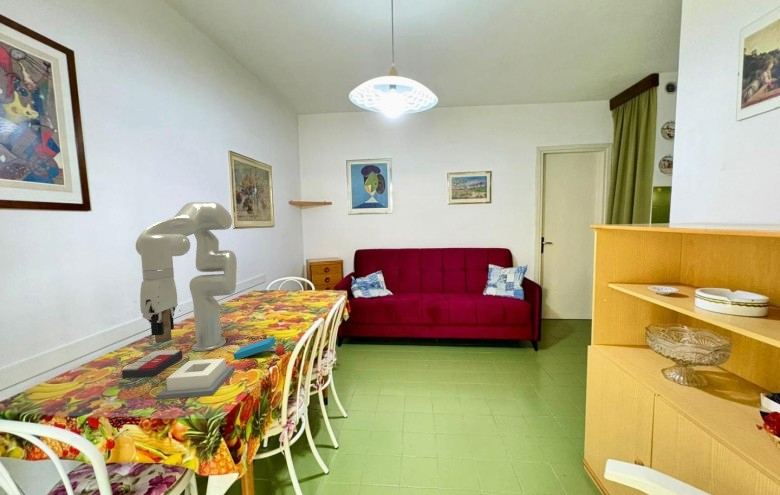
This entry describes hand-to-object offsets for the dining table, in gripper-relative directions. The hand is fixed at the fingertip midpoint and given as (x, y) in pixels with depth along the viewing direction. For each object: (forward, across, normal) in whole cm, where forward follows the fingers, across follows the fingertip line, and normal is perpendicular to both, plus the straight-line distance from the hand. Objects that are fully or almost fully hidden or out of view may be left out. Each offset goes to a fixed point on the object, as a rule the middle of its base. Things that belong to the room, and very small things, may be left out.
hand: (163, 331), depth 91 cm
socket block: (+19, -3, +8) cm, 21 cm away
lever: (+20, -24, +21) cm, 37 cm away
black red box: (+20, -18, -16) cm, 31 cm away
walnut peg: (+3, 0, 0) cm, 3 cm away
